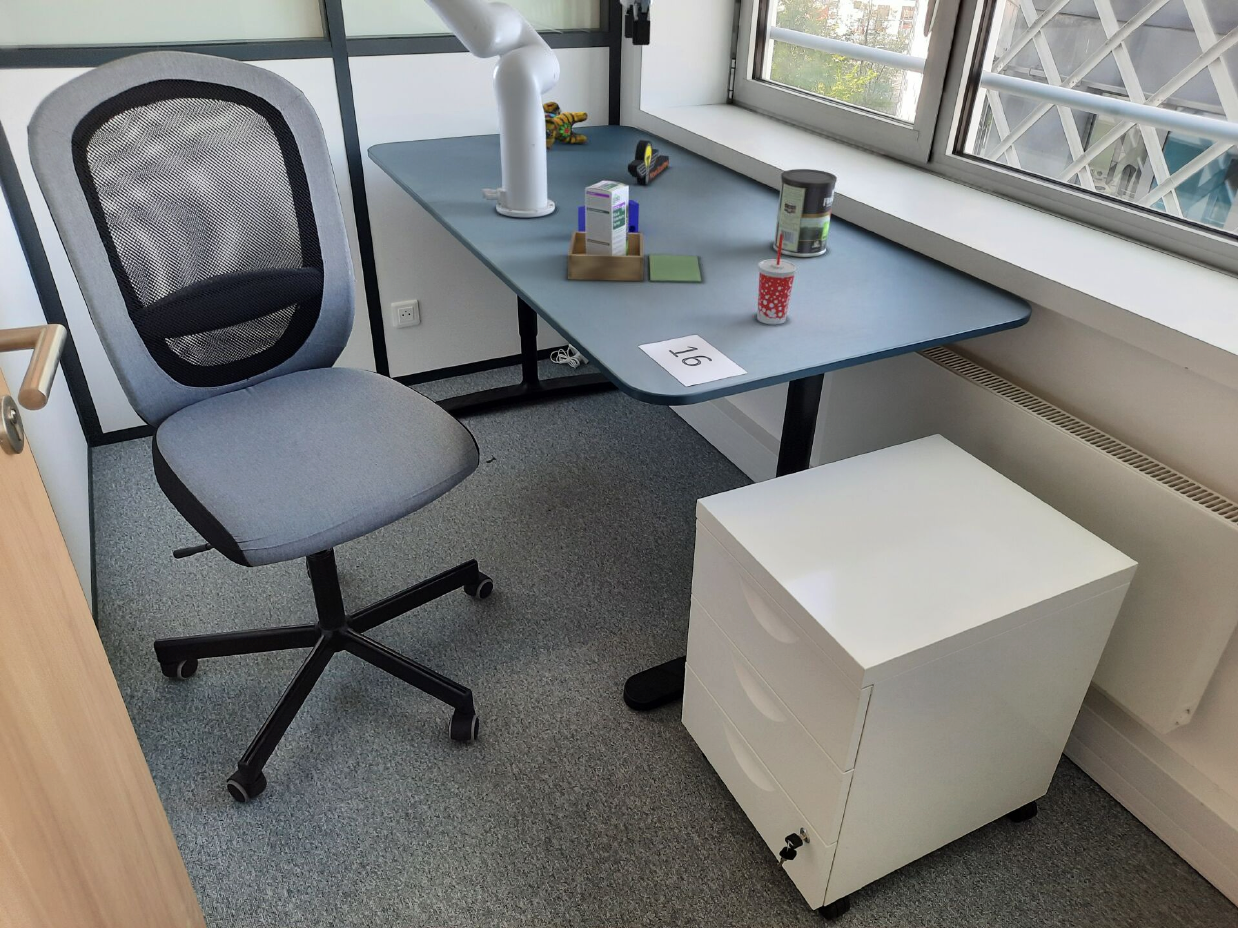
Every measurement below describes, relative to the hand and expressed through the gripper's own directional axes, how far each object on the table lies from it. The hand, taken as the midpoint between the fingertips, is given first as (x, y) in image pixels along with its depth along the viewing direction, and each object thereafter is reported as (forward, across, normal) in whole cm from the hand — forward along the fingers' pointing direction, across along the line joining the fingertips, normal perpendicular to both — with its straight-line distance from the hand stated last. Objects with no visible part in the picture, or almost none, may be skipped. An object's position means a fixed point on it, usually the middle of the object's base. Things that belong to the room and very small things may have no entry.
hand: (636, 41), depth 166 cm
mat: (+35, +28, +4) cm, 44 cm away
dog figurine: (+34, -72, -12) cm, 81 cm away
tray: (+35, +26, -9) cm, 44 cm away
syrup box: (+34, +26, -9) cm, 44 cm away
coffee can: (+35, +19, +30) cm, 50 cm away
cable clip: (+35, +7, -6) cm, 36 cm away
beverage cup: (+35, +52, +15) cm, 64 cm away
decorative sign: (+35, -33, +9) cm, 49 cm away
